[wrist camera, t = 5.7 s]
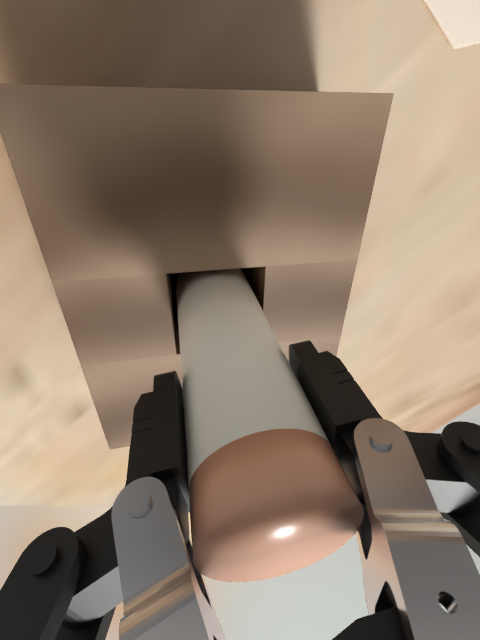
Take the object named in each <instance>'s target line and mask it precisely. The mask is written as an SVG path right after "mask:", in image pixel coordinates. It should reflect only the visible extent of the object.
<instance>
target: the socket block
mask: <svg viewBox="0 0 480 640" xmlns="http://www.w3.org/2000/svg"><path fill="white" fill-rule="evenodd" d="M392 99H393V93H353V92H313V91H273V90H233V89H193V88H153V87H114V86H74V85H34V84H0V133H1V136H2V138H3V141H4V144H5V147H6V150H7V153H8V156H9V159H10V162H11V164H12V167H13V170H14V173H15V176H16V179H17V182H18V185H19V188H20V191H21V193H22V196H23V199H24V202H25V205H26V208H27V211H28V214H29V217H30V219H31V222H32V225H33V228H34V231H35V234H36V237H37V240H38V243H39V246H40V248H41V251H42V254H43V257H44V260H45V263H46V266H47V269H48V272H49V274H50V277H51V280H52V283H53V286H54V289H55V292H56V295H57V298H58V301H59V303H60V306H61V309H62V312H63V315H64V318H65V321H66V324H67V327H68V329H69V332H70V335H71V338H72V341H73V344H74V347H75V350H76V353H77V356H78V358H79V361H80V364H81V367H82V370H83V373H84V376H85V379H86V382H87V384H88V387H89V390H90V393H91V396H92V399H93V402H94V405H95V408H96V410H97V413H98V416H99V419H100V422H101V425H102V428H103V431H104V434H105V437H106V439H107V442H108V445H109V448H110V449H115V448H121V447H127V446H130V442H131V436H132V433H131V432H132V424H133V413H134V407H135V405H136V403H137V401H138V400H139V398H140V396H141V394H144V393H148V392H153V382H154V376H155V375H159V374H163V373H167V372H172V371H176V372H177V374H178V377H179V380H180V383H181V386H182V374H181V358H180V342H179V326H178V310H177V293H175V294H174V292H173V284H172V275H171V273H182V272H196V271H209V270H223V269H237V268H241V269H242V271H243V273H244V275H245V277H246V279H247V281H248V283H249V285H250V287H251V289H252V291H253V293H254V295H255V296H256V298H257V300H258V302H259V304H260V306H261V308H262V310H263V312H264V314H265V316H266V318H267V320H268V322H269V324H270V326H271V328H272V330H273V332H274V334H275V336H276V338H277V340H278V342H279V344H280V346H281V348H282V350H283V352H284V353H285V355H286V357H287V359H288V361H289V345H290V344H294V343H299V342H303V341H307V340H310V341H311V342H312V344H313V345H314V347H315V348H316V350H317V351H318V353H320V352H324V351H328V352H330V353H331V354H333V355H334V356H336V355H337V350H338V345H339V341H340V336H341V332H342V327H343V323H344V318H345V313H346V309H347V304H348V300H349V295H350V291H351V286H352V281H353V277H354V272H355V268H356V263H357V259H358V254H359V249H360V245H361V240H362V236H363V231H364V227H365V222H366V217H367V213H368V208H369V204H370V199H371V195H372V190H373V185H374V181H375V176H376V172H377V167H378V163H379V158H380V153H381V149H382V144H383V140H384V135H385V131H386V126H387V121H388V117H389V112H390V108H391V103H392Z"/></svg>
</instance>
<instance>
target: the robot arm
mask: <svg viewBox="0 0 480 640" xmlns="http://www.w3.org/2000/svg"><path fill="white" fill-rule="evenodd" d="M289 363H290V365H291V367H292V369H293V371H294V373H295V375H296V377H297V379H298V381H299V383H300V385H301V387H302V389H303V391H304V393H305V395H306V397H307V399H308V401H309V403H310V405H311V407H312V408H313V410H314V412H315V414H316V416H317V418H318V420H319V422H320V424H321V426H322V428H323V430H324V432H325V434H326V436H327V438H328V440H329V442H330V444H331V446H332V448H333V450H334V452H335V454H336V456H337V458H338V460H339V462H340V464H341V465H342V467H343V469H344V471H345V473H346V475H347V477H348V479H349V481H350V483H351V485H352V487H353V489H354V491H355V493H356V495H357V497H358V499H359V501H360V503H361V505H362V507H363V511H364V517H363V521H362V523H361V525H360V527H358V530H357V532H356V536H357V541H358V545H359V551H360V555H361V561H362V568H363V584H364V591H365V597H366V603H367V608H368V613H369V615H368V616H365V617H362V618H359V619H357V620H355V621H354V622H353V623H352V624H350V625H349V626H348V627H347V628H346V629H344V630H343V631H342V632H341V633H340V634H338V635H337V636H336V637H335V638H333V639H332V640H480V575H479V573H478V570H477V568H476V566H475V563H474V561H473V559H472V557H471V554H470V552H469V550H468V548H467V546H466V545H468V546H469V547H470V548H471V549H472V550H473V551H474V552H475V553H476V554H477V555H478V556H479V557H480V426H479V425H476V424H473V423H469V422H453V423H450V424H448V425H447V426H446V427H445V428H444V429H443V432H442V434H435V433H415V432H408V431H404V430H402V429H401V428H400V427H398V426H397V425H396V424H394V423H392V422H390V421H388V420H385V419H383V418H382V417H381V416H380V415H379V413H378V412H377V411H376V409H375V408H374V406H373V405H372V404H371V402H370V401H369V399H368V398H367V397H366V395H365V394H364V392H363V391H362V390H361V388H360V387H359V385H358V384H357V383H356V381H354V378H353V377H352V376H351V374H350V373H349V372H348V371H347V369H346V367H345V366H344V364H343V363H342V362H341V360H340V359H339V358H338V357H336V356H334V355H333V354H331V353H330V352H328V351H324V352H320V353H318V351H317V350H316V348H315V347H314V345H313V344H312V342H311V341H310V340H307V341H303V342H299V343H294V344H290V345H289ZM131 433H132V436H131V442H130V452H129V461H128V471H127V480H126V485H125V488H124V489H123V490H122V491H121V492H120V493H119V495H118V496H117V498H116V500H115V502H114V504H113V506H112V507H111V509H110V510H108V511H107V512H106V513H105V514H103V515H102V516H100V517H99V518H97V519H95V520H94V521H92V522H90V523H89V524H87V525H86V526H84V527H82V528H81V529H79V530H77V531H76V532H73V531H72V530H71V529H69V528H66V527H57V528H53V529H51V530H48V531H46V532H44V533H43V534H41V535H40V536H38V537H37V538H36V539H35V540H34V541H33V542H31V543H30V545H28V547H27V548H26V549H25V550H24V552H23V553H22V554H21V556H20V558H19V559H18V561H17V563H16V564H15V566H14V568H13V570H12V571H11V573H10V575H9V576H8V578H7V580H6V582H5V584H4V585H3V587H2V589H1V590H0V640H105V638H106V635H107V632H108V629H109V626H110V623H111V620H112V617H113V614H114V611H115V608H116V606H117V605H118V604H120V603H121V602H123V603H124V614H123V617H122V618H121V620H120V625H119V640H225V637H224V634H223V631H222V628H221V626H220V623H219V621H218V618H217V616H216V613H215V611H214V608H213V605H212V602H211V599H210V596H209V593H208V590H207V587H206V584H205V580H204V578H203V574H201V573H200V572H199V571H198V570H197V569H196V567H195V565H194V562H193V550H192V541H191V538H190V535H189V522H188V512H190V502H189V486H188V470H187V454H186V438H185V422H184V406H183V390H182V386H181V383H180V380H179V377H178V374H177V372H176V371H172V372H167V373H163V374H159V375H155V376H154V382H153V392H148V393H144V394H141V396H140V398H139V400H138V401H137V403H136V405H135V407H134V413H133V424H132V432H131ZM441 605H443V606H444V607H445V608H446V609H447V611H448V613H447V612H446V611H444V610H443V609H442V608H441Z"/></svg>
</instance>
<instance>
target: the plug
mask: <svg viewBox="0 0 480 640" xmlns="http://www.w3.org/2000/svg"><path fill="white" fill-rule="evenodd" d="M176 293H177V310H178V326H179V342H180V358H181V374H182V390H183V406H184V422H185V438H186V454H187V470H188V486H189V502H190V518H191V534H192V550H193V562H194V565H195V567H196V569H197V570H198V571H199V572H200V573H201V574H203V575H205V576H207V577H209V578H212V579H215V580H220V581H227V582H248V581H257V580H263V579H268V578H273V577H277V576H281V575H284V574H287V573H290V572H293V571H296V570H299V569H302V568H304V567H306V566H309V565H311V564H313V563H315V562H317V561H319V560H321V559H323V558H325V557H326V556H328V555H330V554H331V553H333V552H334V551H336V550H337V549H339V548H340V547H341V546H342V545H344V544H345V543H346V542H347V541H348V540H349V539H351V537H352V536H353V535H354V534H355V533H356V532H357V530H358V527H360V525H361V523H362V521H363V517H364V511H363V507H362V505H361V503H360V501H359V499H358V497H357V495H356V493H355V491H354V489H353V487H352V485H351V483H350V481H349V479H348V477H347V475H346V473H345V471H344V469H343V467H342V465H341V464H340V462H339V460H338V458H337V456H336V454H335V452H334V450H333V448H332V446H331V444H330V442H329V440H328V438H327V436H326V434H325V432H324V430H323V428H322V426H321V424H320V422H319V420H318V418H317V416H316V414H315V412H314V410H313V408H312V407H311V405H310V403H309V401H308V399H307V397H306V395H305V393H304V391H303V389H302V387H301V385H300V383H299V381H298V379H297V377H296V375H295V373H294V371H293V369H292V367H291V365H290V363H289V361H288V359H287V357H286V355H285V353H284V352H283V350H282V348H281V346H280V344H279V342H278V340H277V338H276V336H275V334H274V332H273V330H272V328H271V326H270V324H269V322H268V320H267V318H266V316H265V314H264V312H263V310H262V308H261V306H260V304H259V302H258V300H257V298H256V296H255V295H254V293H253V291H252V289H251V287H250V285H249V283H248V281H247V279H246V277H245V275H244V273H243V271H242V269H241V268H237V269H223V270H209V271H196V272H182V273H180V274H179V277H178V280H177V284H176Z"/></svg>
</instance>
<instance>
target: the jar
mask: <svg viewBox="0 0 480 640" xmlns="http://www.w3.org/2000/svg"><path fill="white" fill-rule="evenodd" d="M424 2H425V3H426V5H427V7H428V8H429V10H430V12H431V13H432V15H433V16H434V18H435V20H436V21H437V23H438V25H439V26H440V28H441V29H442V31H443V33H444V34H445V36H446V38H447V39H448V41H449V43H450V44H451V46H452V47H453V48H454V49H458V48H462V47H466V46H471V45H475V44H479V43H480V0H424Z"/></svg>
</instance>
